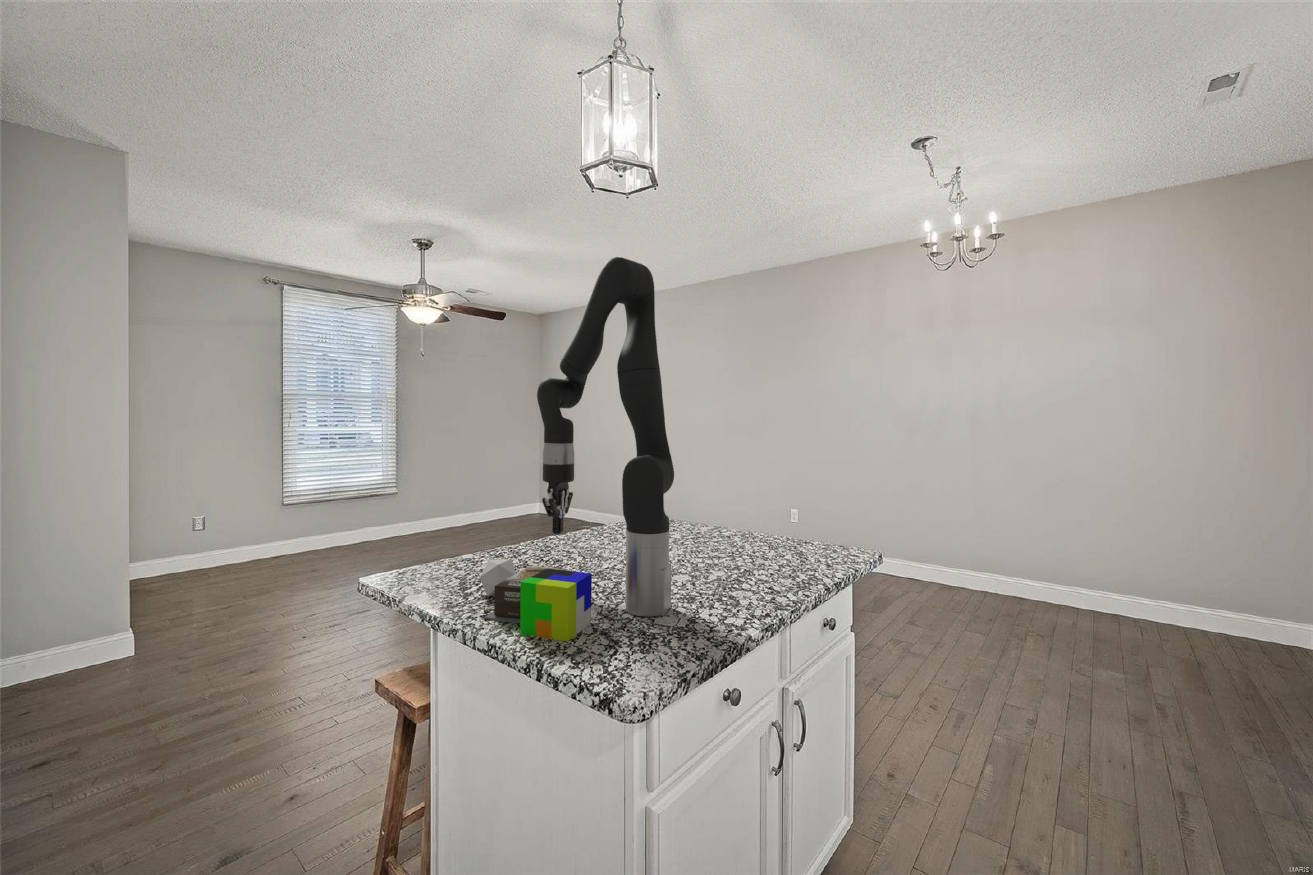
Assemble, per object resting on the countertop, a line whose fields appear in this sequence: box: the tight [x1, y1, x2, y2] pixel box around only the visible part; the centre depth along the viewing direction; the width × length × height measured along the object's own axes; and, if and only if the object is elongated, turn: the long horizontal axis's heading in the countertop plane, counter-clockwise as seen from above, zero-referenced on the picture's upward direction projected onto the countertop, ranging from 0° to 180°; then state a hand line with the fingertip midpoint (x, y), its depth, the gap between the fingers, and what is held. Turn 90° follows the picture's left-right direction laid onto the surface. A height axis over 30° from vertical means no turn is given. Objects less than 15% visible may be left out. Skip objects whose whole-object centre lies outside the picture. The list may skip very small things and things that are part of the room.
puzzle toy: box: [519, 569, 593, 643], centre depth 105 cm, size 10×10×10 cm
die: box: [479, 558, 517, 597], centre depth 125 cm, size 8×9×10 cm
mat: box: [484, 610, 520, 624], centre depth 116 cm, size 9×16×1 cm, turn 165°
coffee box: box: [493, 565, 566, 618], centre depth 116 cm, size 9×6×16 cm
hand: (557, 533), depth 130 cm, fingers closed
